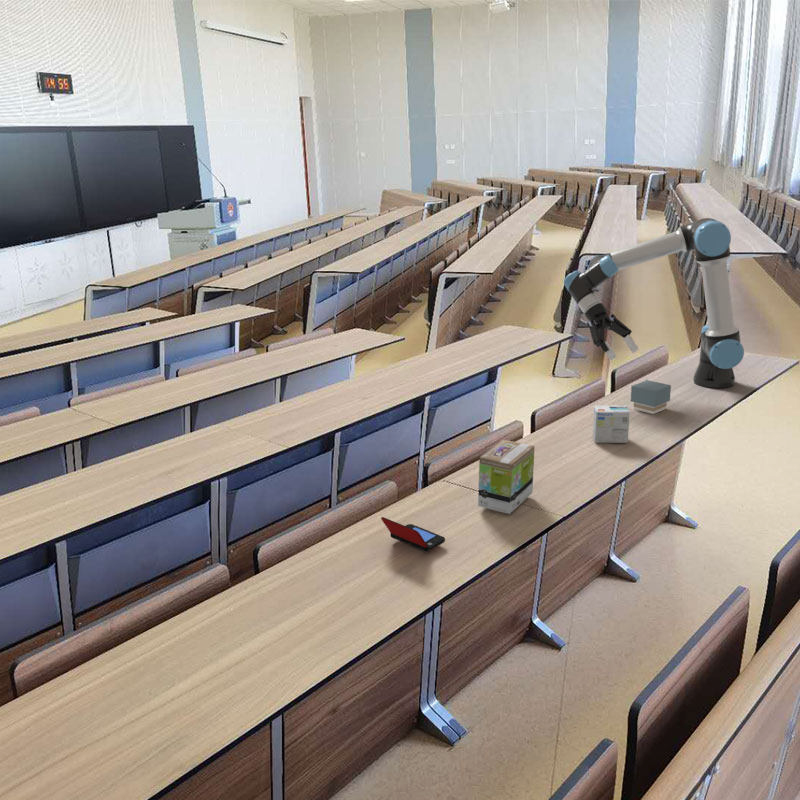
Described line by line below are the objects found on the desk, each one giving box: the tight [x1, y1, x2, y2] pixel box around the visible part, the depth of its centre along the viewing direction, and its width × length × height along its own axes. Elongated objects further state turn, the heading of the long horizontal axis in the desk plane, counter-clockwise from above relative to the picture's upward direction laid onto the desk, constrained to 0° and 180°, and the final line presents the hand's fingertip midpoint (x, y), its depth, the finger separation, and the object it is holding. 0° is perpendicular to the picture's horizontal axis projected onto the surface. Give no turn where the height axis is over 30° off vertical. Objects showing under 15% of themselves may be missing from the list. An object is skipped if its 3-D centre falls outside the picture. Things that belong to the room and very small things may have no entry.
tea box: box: [477, 439, 535, 515], centre depth 211 cm, size 15×10×15 cm
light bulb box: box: [592, 405, 631, 444], centre depth 252 cm, size 11×7×11 cm, turn 84°
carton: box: [633, 402, 668, 415], centre depth 279 cm, size 8×8×8 cm
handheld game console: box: [380, 516, 446, 553], centre depth 192 cm, size 12×11×7 cm
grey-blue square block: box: [630, 379, 672, 407], centre depth 278 cm, size 10×10×6 cm
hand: (625, 354), depth 282 cm, fingers open, 13 cm apart
